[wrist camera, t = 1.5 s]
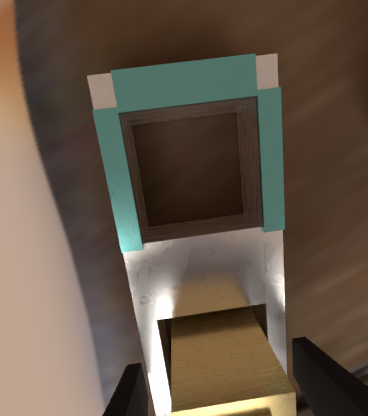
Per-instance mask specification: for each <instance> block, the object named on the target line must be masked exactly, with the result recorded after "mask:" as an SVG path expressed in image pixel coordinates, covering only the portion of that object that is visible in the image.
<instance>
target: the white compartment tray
mask: <svg viewBox="0 0 368 416" xmlns="http://www.w3.org/2000/svg"><path fill="white" fill-rule="evenodd" d="M110 71H111V73H106V74H98V75H89V76H87V78H88V83H89V88H90V93H91V98H92V103H93V108H94V110H92V111H93V116H94V121H95V126H96V131H97V136H98V141H99V145H100V150H101V155H102V160H103V165H104V170H105V175H106V180H107V184H108V189H109V194H110V199H111V204H112V209H113V214H114V218H115V223H116V228H117V233H118V238H119V243H120V248H121V253H123V255H124V260H125V265H126V270H127V275H128V280H129V285H130V290H131V294H132V299H133V304H134V309H135V314H136V319H137V324H138V329H139V334H140V339H141V344H142V348H143V353H144V358H145V363H146V368H147V373H148V378H149V383H150V388H151V393H152V398H153V402H154V407H155V412H156V416H172V414H171V353H170V347H169V341H168V335H167V329H166V324H165V319H167V318H173V317H180V316H186V315H193V314H199V313H206V312H212V311H219V310H225V309H232V308H238V307H245V306H250V309H251V311H252V312H253V314H254V316H255V318H256V320H257V322H258V324H259V325H260V327H261V329H262V331H263V333H264V335H265V336H266V338H267V340H268V342H269V344H270V346H271V347H272V349H273V351H274V353H275V355H276V357H277V358H278V360H279V362H280V364H281V366H282V368H283V369H284V371H285V373H286V375H287V356H286V323H285V290H284V257H283V230H285V210H284V174H283V138H282V102H281V87H278V58H277V53H276V54H268V55H259V56H256V53H255V54H246V55H238V56H229V57H221V58H212V59H204V60H195V61H187V62H178V63H170V64H161V65H153V66H144V67H135V68H127V69H118V70H110ZM229 113H236V119H237V133H238V147H239V161H240V175H241V189H242V204H243V213H242V214H235V215H228V216H221V217H214V218H207V219H200V220H192V221H185V222H178V223H171V224H164V225H157V226H150V227H149V224H148V218H147V212H146V207H145V201H144V195H143V189H142V183H141V177H140V171H139V166H138V160H137V154H136V148H135V142H134V136H133V130H132V126H133V125H141V124H149V123H157V122H165V121H173V120H181V119H189V118H197V117H205V116H213V115H221V114H229Z"/></svg>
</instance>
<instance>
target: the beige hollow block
mask: <svg viewBox="0 0 368 416" xmlns="http://www.w3.org/2000/svg"><path fill="white" fill-rule="evenodd" d="M171 414H172V416H296V392H295V390H294V388H293V386H292V384H291V382H290V381H289V379H288V377H287V375H286V373H285V371H284V369H283V368H282V366H281V364H280V362H279V360H278V358H277V357H276V355H275V353H274V351H273V349H272V347H271V346H270V344H269V342H268V340H267V338H266V336H265V335H264V333H263V331H262V329H261V327H260V325H259V324H258V322H257V320H256V318H255V316H254V314H253V312H252V311H251V309H250V307H249V306H245V307H238V308H232V309H225V310H219V311H212V312H206V313H199V314H193V315H186V316H180V317H173V318H171Z"/></svg>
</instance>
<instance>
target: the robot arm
mask: <svg viewBox="0 0 368 416" xmlns="http://www.w3.org/2000/svg"><path fill="white" fill-rule="evenodd" d="M292 350H293V374H294V377H295V379H296V381H297V383H298V385H299V387H300V389H301V391H302V394H303V396H304V398H305V400H306V402H307V403H308V405H309V407H310V408H311V410H312V412H313V414H314V415H315V416H368V386H367V385H365V384H364V383H363V382H361V381H360V380H359V379H357V378H356V377H355V376H353V375H352V374H351V373H350V372H348V371H347V370H346V369H344V368H343V367H342V366H341V365H339V364H338V363H337V362H336V361H334V360H333V359H332V358H331V357H329V356H328V355H327V354H326V353H324V352H323V351H322V350H321V349H320V348H318V347H317V346H316V345H315V344H313V343H312V342H311V341H310V340H308V339H307V338H306V337H299V338H293V339H292ZM147 414H148V394H147V389H146V384H145V380H144V375H143V370H142V365H141V363H137V364H130V365H127V367H126V368H125V371H124V373H123V375H122V377H121V379H120V382H119V384H118V386H117V388H116V390H115V392H114V394H113V396H112V398H111V400H110V402H109V404H108V406H107V408H106V410H105V412H104V414H103V415H102V416H147Z"/></svg>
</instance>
